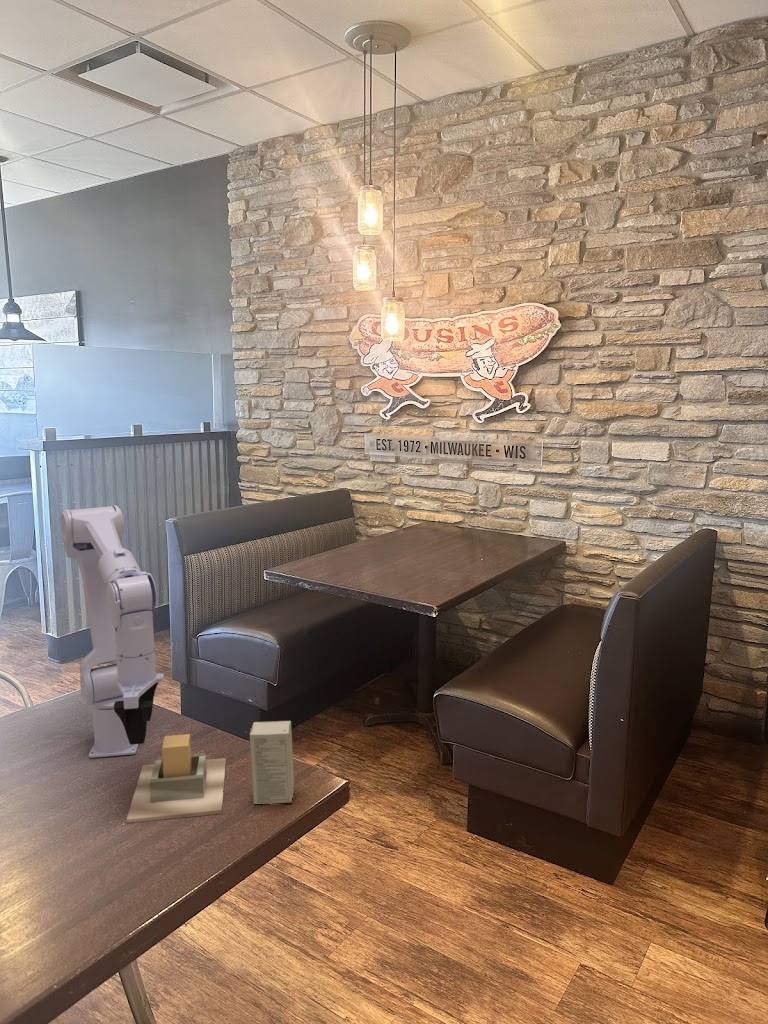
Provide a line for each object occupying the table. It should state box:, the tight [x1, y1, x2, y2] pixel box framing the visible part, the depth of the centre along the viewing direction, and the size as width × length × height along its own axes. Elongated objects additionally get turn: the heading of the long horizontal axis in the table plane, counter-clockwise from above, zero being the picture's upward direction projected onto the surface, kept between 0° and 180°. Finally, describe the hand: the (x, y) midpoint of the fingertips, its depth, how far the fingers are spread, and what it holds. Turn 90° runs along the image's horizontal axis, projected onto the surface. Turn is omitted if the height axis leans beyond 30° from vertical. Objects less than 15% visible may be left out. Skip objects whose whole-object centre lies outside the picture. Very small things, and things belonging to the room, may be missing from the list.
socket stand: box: [126, 752, 227, 824], centre depth 118 cm, size 16×14×4 cm
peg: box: [161, 733, 192, 778], centre depth 117 cm, size 4×4×8 cm
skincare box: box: [249, 720, 295, 804], centre depth 115 cm, size 6×4×12 cm
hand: (140, 731), depth 116 cm, fingers open, 7 cm apart
